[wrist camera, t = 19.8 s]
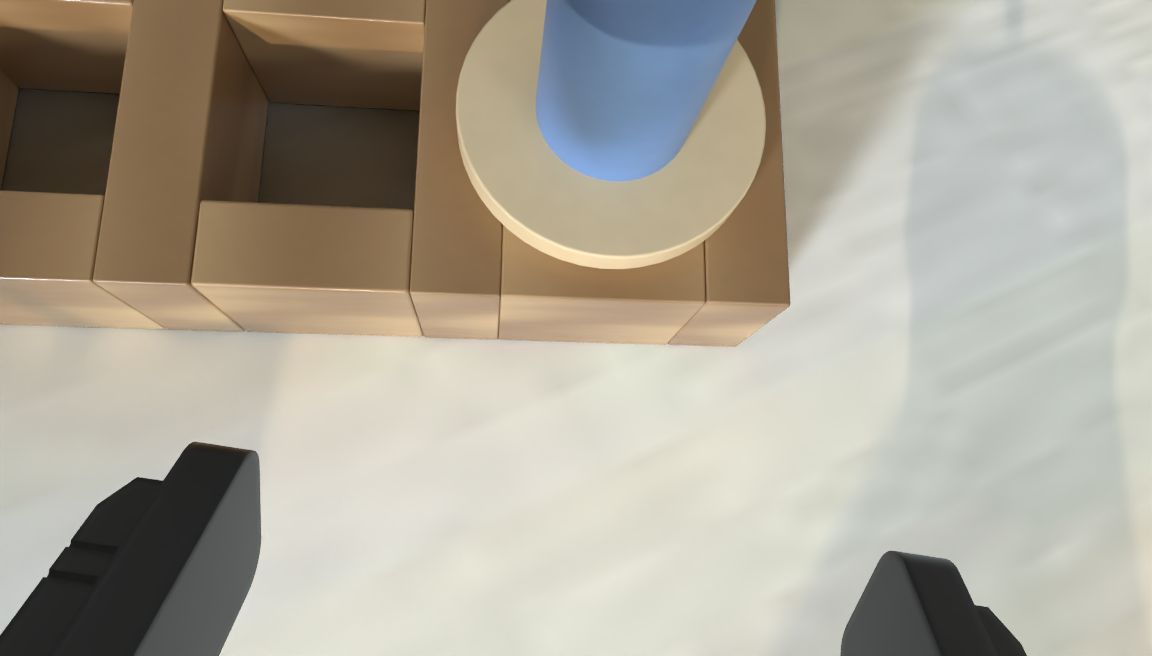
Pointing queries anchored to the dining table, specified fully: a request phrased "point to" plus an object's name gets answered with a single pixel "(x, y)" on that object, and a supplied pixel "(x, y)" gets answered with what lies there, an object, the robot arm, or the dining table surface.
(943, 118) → the dining table surface
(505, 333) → the rack
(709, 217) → the peg
